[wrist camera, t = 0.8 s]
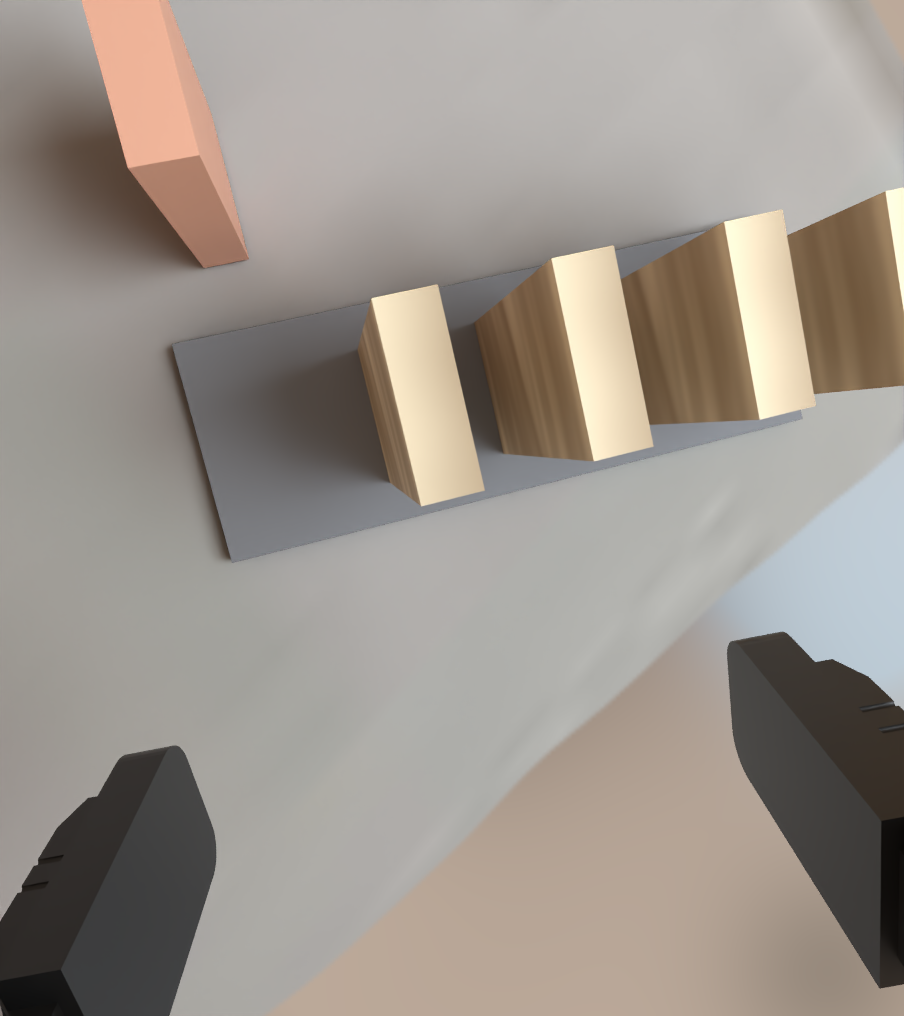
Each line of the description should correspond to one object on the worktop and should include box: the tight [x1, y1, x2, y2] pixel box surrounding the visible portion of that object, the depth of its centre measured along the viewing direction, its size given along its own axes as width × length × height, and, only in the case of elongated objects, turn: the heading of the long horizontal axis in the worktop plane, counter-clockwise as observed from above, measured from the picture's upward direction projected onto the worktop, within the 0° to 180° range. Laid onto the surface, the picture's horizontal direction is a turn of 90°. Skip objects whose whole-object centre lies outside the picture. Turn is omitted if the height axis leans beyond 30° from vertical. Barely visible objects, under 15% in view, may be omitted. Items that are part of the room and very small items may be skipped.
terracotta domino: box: [82, 0, 249, 268], centre depth 22 cm, size 2×5×10 cm, turn 13°
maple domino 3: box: [621, 209, 816, 425], centre depth 24 cm, size 2×5×10 cm, turn 14°
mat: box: [172, 231, 802, 563], centre depth 28 cm, size 23×8×1 cm, turn 103°
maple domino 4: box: [787, 188, 904, 394], centre depth 24 cm, size 2×5×10 cm, turn 13°
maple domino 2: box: [474, 245, 654, 461], centre depth 23 cm, size 2×5×10 cm, turn 13°
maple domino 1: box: [358, 284, 485, 506], centre depth 23 cm, size 2×5×10 cm, turn 13°
